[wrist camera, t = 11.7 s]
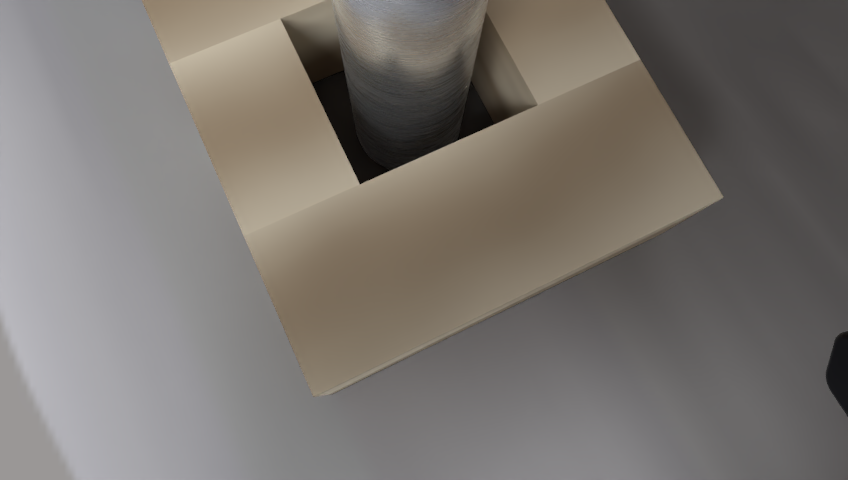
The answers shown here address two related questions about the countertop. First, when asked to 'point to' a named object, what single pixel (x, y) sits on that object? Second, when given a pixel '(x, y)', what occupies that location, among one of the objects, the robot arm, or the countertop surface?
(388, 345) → the socket block
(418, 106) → the steel pin
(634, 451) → the countertop surface
